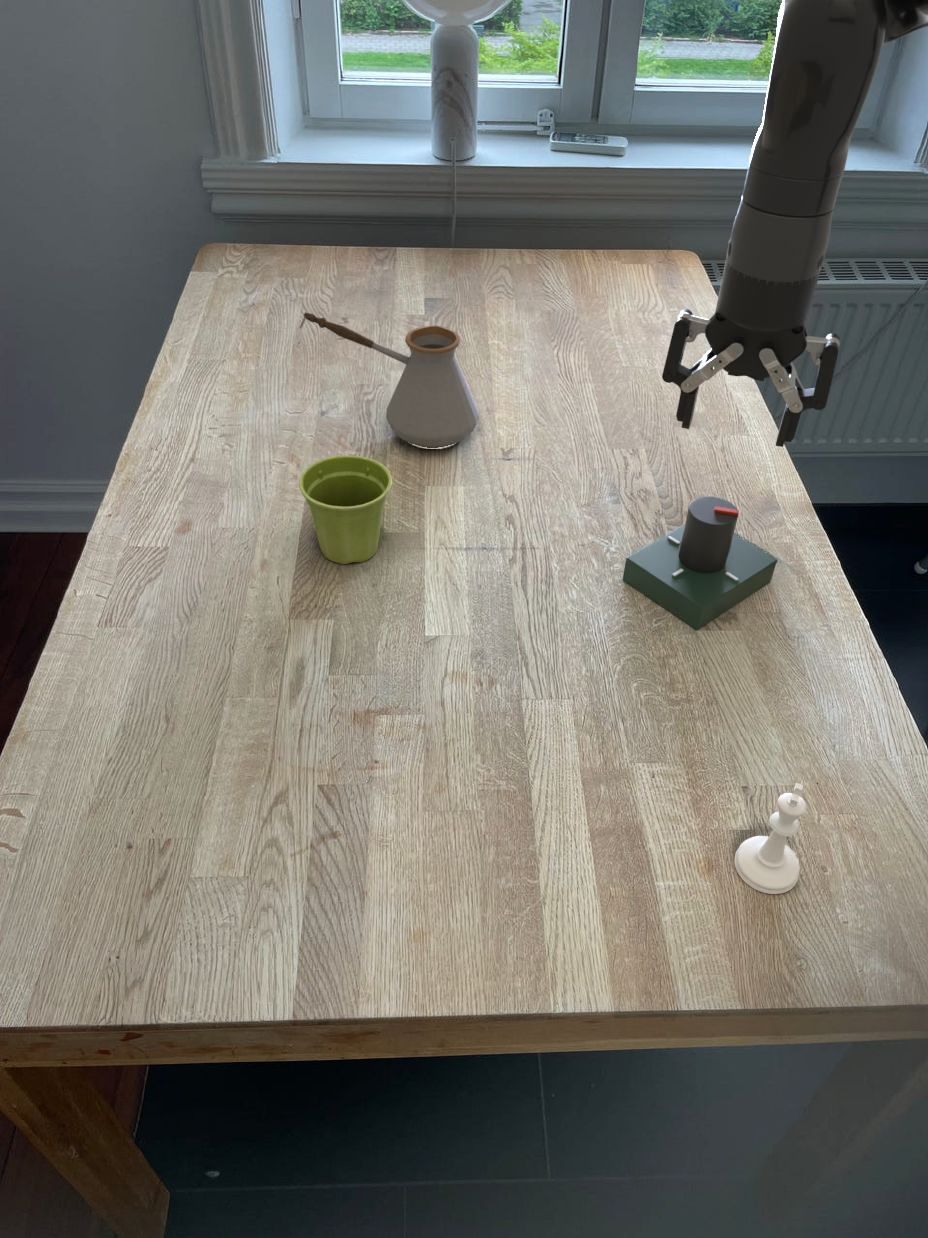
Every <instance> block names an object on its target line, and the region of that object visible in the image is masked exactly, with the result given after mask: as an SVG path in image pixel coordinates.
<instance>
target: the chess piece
mask: <svg viewBox="0 0 928 1238" xmlns="http://www.w3.org/2000/svg"><path fill="white" fill-rule="evenodd" d="M803 786H804V785H803V784H801V783H799V782H795V785H794V787H793V791H792V792H785V793H782V794H781V795H780V796H779V797H778V799H777V810H778V811H776V812H774V813H772V814H771V815H770V817H769V820H768V822H769V826H770V828H771V829H772V831H771V832H770V834H769V836H766V835H756V836H755V835H754V836H751V837H749V838H747V839H745V840H744V841H742V842H741V844H740V845H739V847H738V848H737V850H736V852H735V854H734V859H733V860H734V867H735V870H736V872H737V874H738V876H739V877H740V879H742V880H743V882H744V883H745V884H746V885H748V887H750V888H752V889H753V890H756V891H758V892H761V893H764V894H767V895H768V894H769V895H779V894H784V893H787V892H788V891H790V890H792V889H793V888H794V887H795V886H796V885H797V883H798V881H799V877H800V872H801V866H800V861H799V859H798V856H797V855H796V854H795V851H793V849H791V848H790V846H788V844H787V839H788V837H793V836H795V835H797V833H798V832H799V830H800V825H799V821H798V819H799V818H800V817H802V816H803V815H804V814H805V813H806V811H807V803H806V802H805V800H804V799H803V798H802V797H801V793H802V791H803Z"/></svg>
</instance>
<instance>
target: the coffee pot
mask: <svg viewBox="0 0 928 1238" xmlns="http://www.w3.org/2000/svg"><path fill="white" fill-rule="evenodd" d="M306 320H308V321H309V322H310V323H315V324H317V325H318V326H319V328H320V329H324V328H325V329H326V330H329V331H330V332H332V333H333V334H335V335H337V336H338V337H341V338H343V339H345V340H348V341H351V342H353V343H356V344H358V345H361V346H363V347H366V348H369V349H373V350H375V351H377V352H379V353H381V354H383V355H385V356H388V357H389V358H392V359H394V360H396V361H398V362H400V363H402V364H405V367H404V369H403V371H402V373H401V376H400V379H399V380H398V383H397V384H396V387H395V389H394V392H393V394H392V396H391V398H390V401H389V403H388V405H387V408H386V413H385V417H386V421H387V423H388V425H389V426H390V429H391V430H392V432H394V433H395V434H396V435H397V436H398V437H399V438H400V439H402V440H403V441H405V442H406V441H407V442H409V443H411V444H415V445H418V446H422V447H427V448H438V447H444V446H448V445H452V444H455V443H457V442H459V441H460V442H461V441H463V440H464V439H466V438H467V437H468V436H469V435H470V434H471V433H472V432H473V431H474V430H475V428H476V426H477V424H478V422H479V419H480V412H479V411H480V410H479V407H478V405H477V403H476V400H475V398H474V396H473V394H472V391H471V388H470V386H469V384H468V382H467V379H466V378H465V376H464V375H465V374H464V373H463V371H462V369H461V366H460V364H459V362H458V359H457V357H456V354H455V353H456V349H457V348H458V347H459V345H460V343H461V336H460V335H459V333H457V332H456V331H455V330H453V329H450V328H449V327H445V326H441V325H439V324H431V325H426V326H420V327H417V328H414V329H411V330H410V331H409V332H407V334H406V336H405V337H404V338H405V340H404V342H405V344H406V345H407V347H408V348H409V351H410V356H409V355H406V354H404V353H401V352H399V351H396V350H394V349H392V348H389V347H387V346H384V345H382V344H380V343H378V342H375V341H374V340H372V339H371V338H368V337H366V336H364V335H362V334H360V333H358V332H356V331H354V330H353V329H351V328H349V327H347V326H344V325H343V324H338V323H334V322H331V321H328V320H327V318H326V317H318V316H317V315H316V314H313V313H310V312H306V311H305V312H304V313H303V318H302V321H301V323H300V327H299V330H302V328H303V326H304V324H305V323H306V322H305V321H306ZM407 442H406V443H407ZM460 442H459V443H460Z"/></svg>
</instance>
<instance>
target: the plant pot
mask: <svg viewBox="0 0 928 1238" xmlns="http://www.w3.org/2000/svg"><path fill="white" fill-rule="evenodd" d="M392 486H393V477H392V474H391V472H390V470H389V469H388V468H387V467H386V466H385V465H384V464H382V463H381V462H380V461H377V460H376V459H373V458H370V457H367V456H362V455H357V454H356V455H353V454H344V455H342V454H340V455H333V456H329V457H325V458H322V459H319V460H317V461H315V462H313V463H311V464H309V466H307V467H306V468H305V469H304V470H303V472H302V473H301V475H300V476H299V480H298V487H299V491H300V493H301V494H302V496H303V497H304V499H305V501H306V503H307V504H308V506H309V509H310V512H311V517H312V518H313V525H314V528H315V531H316V532H315V533H316V535H317V539H318V543H319V548H320V551H321V553H322V555H323V556H324V557H325V558H326V559H327V560H329V561H331V562H333V563H337V564H342V565H348V564H350V563H364V562H366V561H368V560H370V559H371V558H372V557H373V556H375V554H377V553H376V552H377V551H378V548H379V542H380V534H381V526H382V518H383V511H384V505H385V502H386V500H387V497H388V494H389V492H390V491H391V489H392Z"/></svg>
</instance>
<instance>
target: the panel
mask: <svg viewBox="0 0 928 1238" xmlns="http://www.w3.org/2000/svg"><path fill="white" fill-rule="evenodd" d="M684 527H685V523H684V524H683V525H681V526H679V527H677V528H675V529H674V530H672V531H670V532H668V533H667V534H666V535H663V536H661V537H660V538H658V539H656V540H655V541H653V542H651V543H649V544H647V545H646V546H644V547H642V548H640V549H638V550H637V551H635V552H633V553H632V554H630V555H628V556H627V557H626V558H625V562H624V563H625V564H624V567H623V573H622V574H623V575H622V581H623V582H625V583H627V584H628V585H629V586H631V587H632V588H634V589H635V590H636V591H638V592H639V593H640V594H643V595H644V596H646V597H647V598H648V599H650V600H651V601H652V602H654V603H656V604H657V605H659V606H660V607H662V608H663V609H665V610H666V611H667V612H669V613H671V614H672V615H673V616H675V617H676V618H678V619H679V620H680V621H682V622H683V623H685V624H687V625H688V626H690V627H691V628H692V629H695V631H698V630H700V629H702V628H703V627H705V626H706V625H707V624H709V623H710V622H712V621H713V620H716V619H717V618H719V617H720V616H721V615H723V614H724V613H726V612H727V611H729V610H730V609H732V608H733V607H735V606H736V605H738V604H739V603H741V602H742V601H744V600H745V599H748V597H750V596H752V595H753V594H754V593H756V592H758V591H759V590H761V589H762V588H763V587H765V586H767V585H768V584H770V583H771V582H772V578H773V575H774V573H775V569H776V566H777V562H778V559H777V558H775V557H774V556H772V555H770V554H769V553H767V552H765V551H763V550H762V549H760V548H758V547H756V546H755V545H754V544H753V543H750V542H749V541H746V540H745V539H743V538H742V537H740V536H738V535H737V534H736V533H734V534H733V538H732V542H731V545H730V549H729V553H728V557H727V560H726V564H725V566H724V567H723V568H722V569H721V570H719V571H716V572H712V573H703V572H697V571H694V570H691V569H689V568H688V567H686V566H685V565H684V564H683V563H682V562H681V561H680V559H679V550H680V546H681V541H682V536H683V532H684Z"/></svg>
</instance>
